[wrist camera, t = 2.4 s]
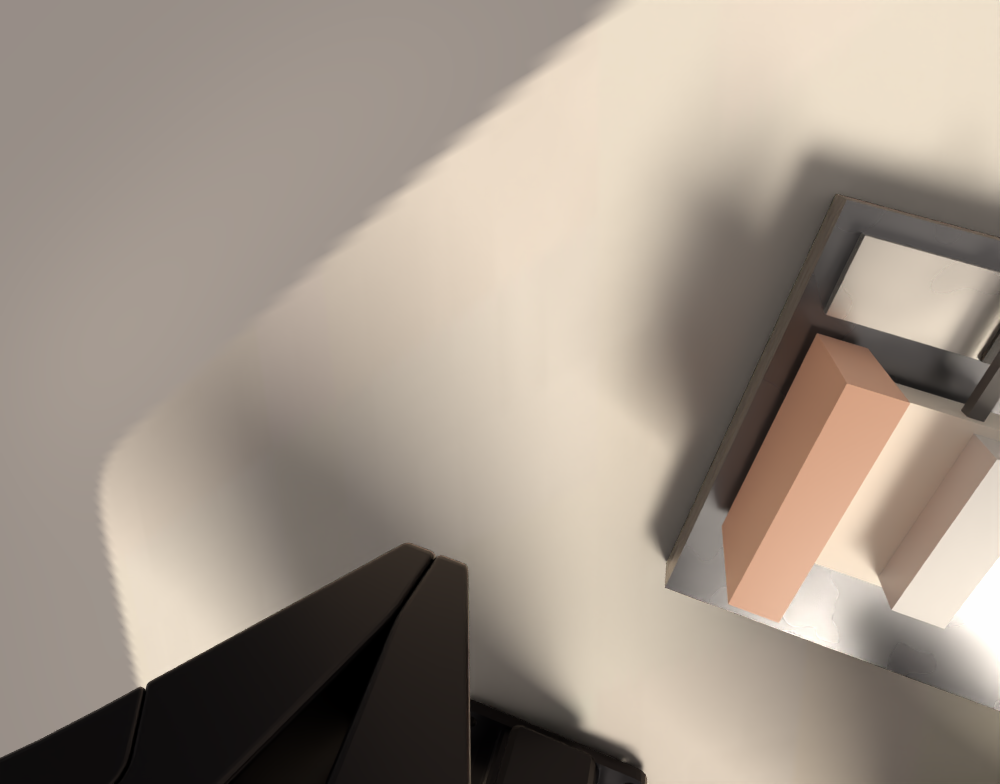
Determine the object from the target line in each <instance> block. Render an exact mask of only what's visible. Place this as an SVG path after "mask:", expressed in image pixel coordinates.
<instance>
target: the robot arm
mask: <svg viewBox="0 0 1000 784" xmlns="http://www.w3.org/2000/svg"><path fill="white" fill-rule="evenodd" d="M0 784H647V777H646V775H645V774H644V772H643V771H642V770H640V769H638V768H636V767H634V766H632V765H629V764H627V763H624V762H622V761H620V760H617V759H615V758H612V757H610V756H607V755H605V754H603V753H600V752H598V751H595V750H593V749H590V748H588V747H586V746H583V745H581V744H578V743H576V742H574V741H571V740H569V739H566V738H564V737H561V736H559V735H557V734H554V733H552V732H549V731H547V730H544V729H542V728H540V727H537V726H535V725H532V724H530V723H528V722H525V721H523V720H520V719H518V718H515V717H513V716H511V715H508V714H506V713H503V712H501V711H498V710H496V709H494V708H491V707H489V706H486V705H484V704H482V703H479V702H477V701H473V700H470V670H469V584H468V567H467V566H466V564H464V563H462V562H459V561H456V560H454V559H451V558H448V557H446V556H443V555H440V556H437V557H436V556H435V554H434V552H432V551H430V550H428V549H425V548H422V547H420V546H417V545H414V544H412V543H404V544H402V545H400V546H398V547H396V548H394V549H392V550H391V551H389V552H387V553H385V554H383V555H381V556H380V557H378V558H376V559H374V560H372V561H370V562H369V563H367V564H365V565H363V566H361V567H359V568H357V569H356V570H354V571H352V572H350V573H348V574H346V575H345V576H343V577H341V578H339V579H337V580H335V581H334V582H332V583H330V584H328V585H326V586H324V587H323V588H321V589H319V590H317V591H315V592H313V593H312V594H310V595H308V596H306V597H304V598H302V599H301V600H299V601H297V602H295V603H293V604H291V605H290V606H288V607H286V608H284V609H282V610H280V611H279V612H277V613H275V614H273V615H271V616H269V617H267V618H266V619H264V620H262V621H260V622H258V623H256V624H255V625H253V626H251V627H249V628H247V629H245V630H244V631H242V632H240V633H238V634H236V635H234V636H233V637H231V638H229V639H227V640H225V641H223V642H222V643H220V644H218V645H216V646H214V647H212V648H211V649H209V650H207V651H205V652H203V653H201V654H200V655H198V656H196V657H194V658H192V659H190V660H188V661H187V662H185V663H183V664H181V665H179V666H177V667H176V668H174V669H172V670H170V671H168V672H166V673H165V674H163V675H161V676H159V677H157V678H155V679H154V680H152V681H150V682H149V683H148V684H147V686H146V690H145V689H144V688H143V687H138V688H136V689H135V690H133V691H131V692H129V693H128V694H125V695H124V696H122V697H120V698H118V699H116V700H114V701H113V702H111V703H109V704H107V705H105V706H103V707H102V708H100V709H98V710H96V711H94V712H92V713H90V714H88V715H86V716H84V717H82V718H80V719H78V720H77V721H74V722H72V723H71V724H69V725H67V726H65V727H63V728H61V729H59V730H57V731H55V732H54V733H51V734H49V735H47V736H45V737H44V738H42V739H40V740H38V741H35V742H34V743H31V744H29V745H27V746H25V747H23V748H21V749H18V750H16V751H14V752H12V753H10V754H8V755H5V756H3V757H1V758H0Z"/></svg>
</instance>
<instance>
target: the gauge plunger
mask: <svg viewBox="0 0 1000 784" xmlns="http://www.w3.org/2000/svg"><path fill="white" fill-rule="evenodd" d="M999 399H1000V350H999V352H998V354H997V355H996V357H995V358H994V360H993V361H992V363H991V364H990V366H989V368H988V369H987V371H986V372H985V374H984V375H983V377H982V378H981V380H980V382H979V383H978V385H977V386H976V388H975V389H974V391H973V392H972V394H971V396H970V397H969V399H968V400H967V402H966V403H965V404H963V403H960V402H956V401H953V400H950V399H947V398H943V397H940V396H937V395H933V394H930V393H927V392H924V391H920V390H917V389H914V388H911V387H907V386H904V385H901V384H898V383H894V381H893V380H892V379H891V377H890V376H889V375H888V374H887V372H886V371H885V370H884V368H883V367H882V366H881V365H880V363H879V362H878V361H877V359H876V358H875V357H874V356H873V354H872V353H871V352H870V350H869V349H868V348H865V347H862V346H858V345H855V344H852V343H848V342H845V341H842V340H838V339H835V338H832V337H828V336H825V335H822V334H818V333H817V334H816V336H815V338H814V340H813V342H812V344H811V346H810V348H809V350H808V352H807V354H806V356H805V358H804V361H803V363H802V365H801V367H800V369H799V371H798V373H797V375H796V377H795V379H794V381H793V383H792V385H791V387H790V389H789V391H788V393H787V395H786V397H785V399H784V401H783V403H782V405H781V407H780V409H779V411H778V413H777V415H776V417H775V419H774V421H773V423H772V425H771V427H770V429H769V431H768V433H767V435H766V437H765V439H764V441H763V443H762V446H761V448H760V450H759V452H758V454H757V456H756V458H755V460H754V462H753V464H752V466H751V468H750V470H749V472H748V474H747V476H746V478H745V480H744V482H743V484H742V486H741V488H740V490H739V492H738V494H737V496H736V498H735V500H734V502H733V504H732V506H731V508H730V510H729V512H728V514H727V516H726V518H725V520H724V522H723V524H722V536H723V548H724V560H725V572H726V584H727V596H728V604H729V605H731V606H734V607H737V608H740V609H742V610H745V611H748V612H750V613H753V614H756V615H759V616H761V617H764V618H767V619H769V620H772V621H775V622H778V623H779V622H780V620H781V618H782V617H783V615H784V613H785V612H786V610H787V608H788V607H789V605H790V603H791V602H792V600H793V598H794V597H795V595H796V593H797V592H798V590H799V588H800V587H801V585H802V583H803V582H804V580H805V578H806V577H807V575H808V573H809V572H810V570H811V568H812V567H813V565H814V563H815V564H818V565H820V566H823V567H826V568H829V569H832V570H835V571H837V572H840V573H843V574H846V575H849V576H852V577H854V578H857V579H860V580H863V581H866V582H869V583H872V584H874V585H877V586H880V587H882V588H883V591H884V593H885V596H886V598H887V600H888V603H889V605H890V608H891V610H893V611H896V612H898V613H901V614H904V615H907V616H910V617H912V618H915V619H918V620H921V621H924V622H927V623H929V624H932V625H935V626H938V627H941V628H943V629H945V627H946V626H947V625H948V623H949V622H950V621H951V620H952V618H953V617H954V616H955V614H956V613H957V612H958V610H959V609H960V608H961V607H962V605H963V604H964V603H965V601H966V600H967V599H968V597H969V596H970V595H971V594H972V592H973V591H974V590H975V588H976V587H977V586H978V584H979V583H980V582H981V581H982V579H983V578H984V577H985V575H986V574H987V573H988V571H989V570H990V569H991V568H992V566H993V565H994V564H995V562H996V561H997V560H998V558H999V557H1000V415H999V414H995V413H992V412H991V411H992V409H993V408H994V406H995V405H996V403H997V402H998V400H999Z"/></svg>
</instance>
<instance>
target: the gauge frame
mask: <svg viewBox="0 0 1000 784" xmlns="http://www.w3.org/2000/svg"><path fill="white" fill-rule="evenodd" d="M817 333H818V334H822V335H825V336H828V337H832V338H835V339H838V340H842V341H845V342H848V343H852V344H855V345H858V346H862V347H865V348H868V349H869V350H870V352H871V353H872V354H873V356H874V357H875V358H876V359H877V361H878V362H879V363H880V365H881V366H882V367H883V368H884V370H885V371H886V372H887V374H888V375H889V376H890V377H891V379H892V380H893V381H894V383H898V384H901V385H904V386H907V387H911V388H914V389H917V390H920V391H924V392H927V393H930V394H933V395H937V396H940V397H943V398H947V399H950V400H953V401H956V402H960V403H963V404H965V403H966V402H967V400H968V399H969V397H970V396H971V394H972V392H973V391H974V389H975V388H976V386H977V385H978V383H979V382H980V380H981V378H982V377H983V375H984V374H985V372H986V371H987V369H988V368H989V366H990V364H991V363H992V361H993V360H994V358H995V357H996V355H997V354H998V352H999V350H1000V238H999V237H995V236H991V235H988V234H984V233H980V232H977V231H973V230H969V229H965V228H962V227H958V226H954V225H951V224H947V223H943V222H939V221H936V220H932V219H928V218H925V217H921V216H917V215H913V214H910V213H906V212H902V211H899V210H895V209H891V208H887V207H884V206H880V205H876V204H873V203H869V202H865V201H861V200H858V199H854V198H850V197H847V196H843V195H839V194H836V195H835V197H834V199H833V201H832V203H831V206H830V208H829V210H828V212H827V214H826V217H825V219H824V221H823V223H822V225H821V227H820V230H819V232H818V234H817V236H816V238H815V240H814V243H813V245H812V247H811V249H810V251H809V254H808V256H807V258H806V260H805V262H804V264H803V267H802V269H801V271H800V273H799V275H798V277H797V280H796V282H795V284H794V286H793V288H792V291H791V293H790V295H789V297H788V299H787V301H786V304H785V306H784V308H783V310H782V312H781V315H780V317H779V319H778V321H777V323H776V325H775V328H774V330H773V332H772V334H771V336H770V338H769V341H768V343H767V345H766V347H765V349H764V352H763V354H762V356H761V358H760V360H759V362H758V365H757V367H756V369H755V371H754V373H753V375H752V378H751V380H750V382H749V384H748V386H747V389H746V391H745V393H744V395H743V397H742V399H741V402H740V404H739V406H738V408H737V410H736V412H735V415H734V417H733V419H732V421H731V423H730V426H729V428H728V430H727V432H726V434H725V436H724V439H723V441H722V443H721V445H720V447H719V449H718V452H717V454H716V456H715V458H714V460H713V463H712V465H711V467H710V469H709V471H708V473H707V476H706V478H705V480H704V482H703V484H702V486H701V489H700V491H699V493H698V495H697V497H696V500H695V502H694V504H693V506H692V508H691V510H690V513H689V515H688V517H687V519H686V521H685V524H684V526H683V528H682V530H681V532H680V534H679V537H678V539H677V541H676V543H675V545H674V547H673V550H672V552H671V554H670V556H669V558H668V561H667V563H666V578H665V588H668V589H670V590H673V591H676V592H679V593H681V594H684V595H687V596H689V597H692V598H695V599H698V600H700V601H703V602H706V603H708V604H711V605H714V606H716V607H719V608H722V609H725V610H727V611H730V612H733V613H735V614H738V615H741V616H744V617H746V618H749V619H752V620H754V621H757V622H760V623H763V624H765V625H768V626H771V627H773V628H776V629H779V630H781V631H784V632H787V633H790V634H792V635H795V636H798V637H800V638H803V639H806V640H809V641H811V642H814V643H817V644H819V645H822V646H825V647H827V648H830V649H833V650H836V651H838V652H841V653H844V654H846V655H849V656H852V657H855V658H857V659H860V660H863V661H865V662H868V663H871V664H873V665H876V666H879V667H882V668H884V669H887V670H890V671H892V672H895V673H898V674H901V675H903V676H906V677H909V678H911V679H914V680H917V681H920V682H922V683H925V684H928V685H930V686H933V687H936V688H938V689H941V690H944V691H947V692H949V693H952V694H955V695H957V696H960V697H963V698H966V699H968V700H971V701H974V702H976V703H979V704H982V705H984V706H987V707H990V708H993V709H995V710H998V711H1000V557H999V558H998V560H997V561H996V562H995V564H994V565H993V566H992V568H991V569H990V570H989V571H988V573H987V574H986V575H985V577H984V578H983V579H982V581H981V582H980V583H979V584H978V586H977V587H976V588H975V590H974V591H973V592H972V594H971V595H970V596H969V597H968V599H967V600H966V601H965V603H964V604H963V605H962V607H961V608H960V609H959V610H958V612H957V613H956V614H955V616H954V617H953V618H952V620H951V621H950V622H949V623H948V625H947V626H946V627H945V629H943V628H941V627H938V626H935V625H932V624H929V623H927V622H924V621H921V620H918V619H915V618H912V617H910V616H907V615H904V614H901V613H898V612H896V611H893V610H891V608H890V605H889V603H888V600H887V598H886V596H885V593H884V591H883V588H882V587H880V586H877V585H874V584H872V583H869V582H866V581H863V580H860V579H857V578H854V577H852V576H849V575H846V574H843V573H840V572H837V571H835V570H832V569H829V568H826V567H823V566H820V565H818V564H815V563H814V565H813V567H812V568H811V570H810V572H809V573H808V575H807V577H806V578H805V580H804V582H803V583H802V585H801V587H800V588H799V590H798V592H797V593H796V595H795V597H794V598H793V600H792V602H791V603H790V605H789V607H788V608H787V610H786V612H785V613H784V615H783V617H782V618H781V620H780V622H779V623H778V622H775V621H772V620H769V619H767V618H764V617H761V616H759V615H756V614H753V613H750V612H748V611H745V610H742V609H740V608H737V607H734V606H731V605H729V604H728V596H727V584H726V572H725V560H724V548H723V536H722V524H723V522H724V520H725V518H726V516H727V514H728V512H729V510H730V508H731V506H732V504H733V502H734V500H735V498H736V496H737V494H738V492H739V490H740V488H741V486H742V484H743V482H744V480H745V478H746V476H747V474H748V472H749V470H750V468H751V466H752V464H753V462H754V460H755V458H756V456H757V454H758V452H759V450H760V448H761V446H762V443H763V441H764V439H765V437H766V435H767V433H768V431H769V429H770V427H771V425H772V423H773V421H774V419H775V417H776V415H777V413H778V411H779V409H780V407H781V405H782V403H783V401H784V399H785V397H786V395H787V393H788V391H789V389H790V387H791V385H792V383H793V381H794V379H795V377H796V375H797V373H798V371H799V369H800V367H801V365H802V363H803V361H804V358H805V356H806V354H807V352H808V350H809V348H810V346H811V344H812V342H813V340H814V338H815V336H816V334H817ZM991 412H992V413H995V414H999V415H1000V399H999V400H998V402H997V403H996V405H995V406H994V408H993V409H992V411H991Z"/></svg>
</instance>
